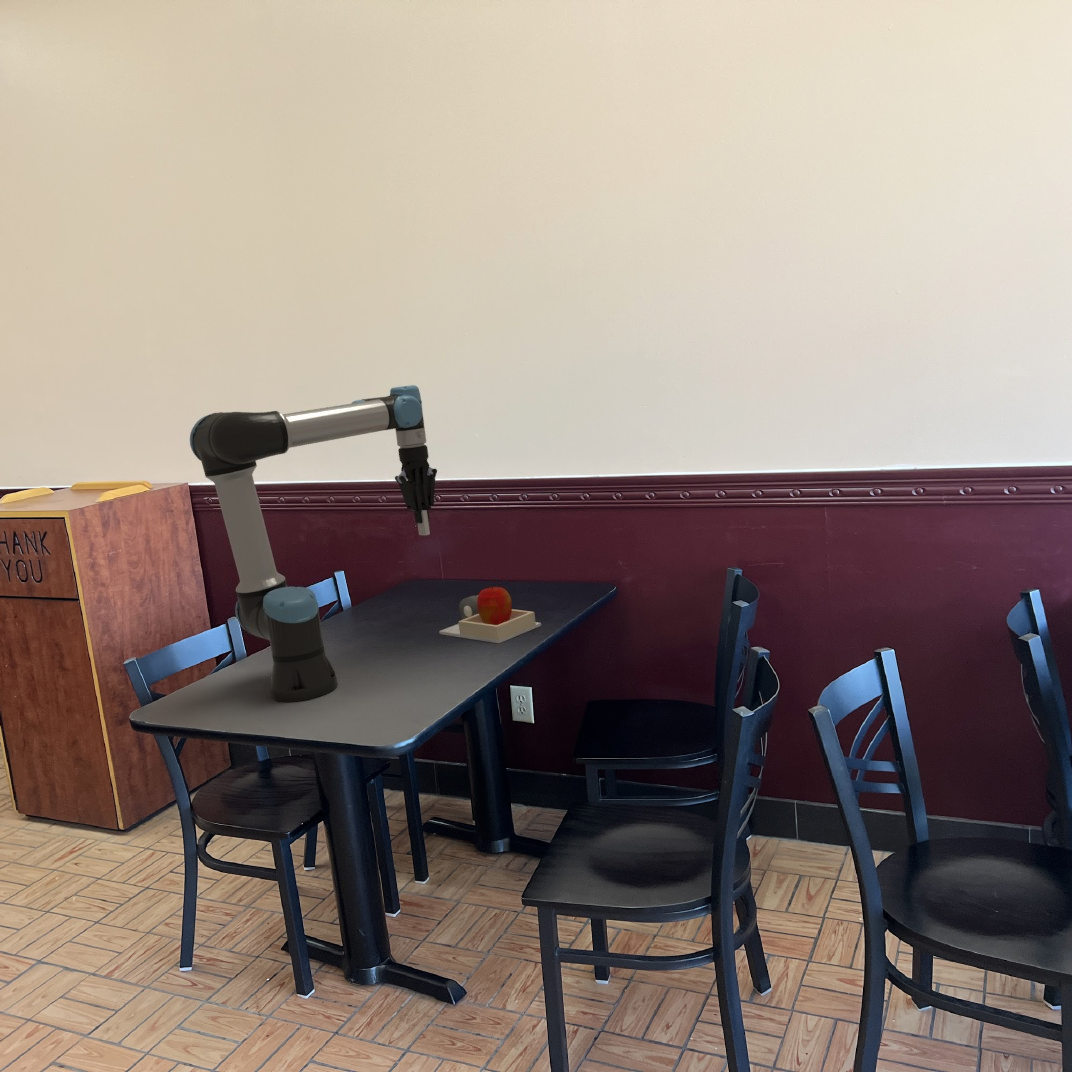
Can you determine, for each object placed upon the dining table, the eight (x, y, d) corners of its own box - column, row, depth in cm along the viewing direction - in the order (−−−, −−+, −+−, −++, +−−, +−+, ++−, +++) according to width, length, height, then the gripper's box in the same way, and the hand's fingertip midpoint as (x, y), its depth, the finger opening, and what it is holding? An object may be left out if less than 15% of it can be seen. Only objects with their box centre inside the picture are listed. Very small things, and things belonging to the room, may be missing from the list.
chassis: (498, 643, 243) (495, 616, 242) (439, 634, 258) (436, 608, 257) (541, 625, 255) (538, 600, 254) (482, 617, 270) (478, 593, 268)
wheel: (478, 625, 258) (475, 599, 257) (460, 622, 263) (456, 597, 262) (499, 616, 264) (496, 592, 263) (481, 614, 269) (478, 590, 267)
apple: (507, 634, 248) (501, 588, 245) (474, 634, 250) (469, 589, 248) (519, 623, 256) (514, 579, 254) (487, 624, 259) (482, 580, 257)
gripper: (402, 449, 245) (415, 540, 250) (440, 441, 255) (452, 530, 259) (383, 449, 250) (396, 539, 255) (421, 442, 260) (433, 529, 264)
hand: (424, 534), depth 257 cm, fingers closed
